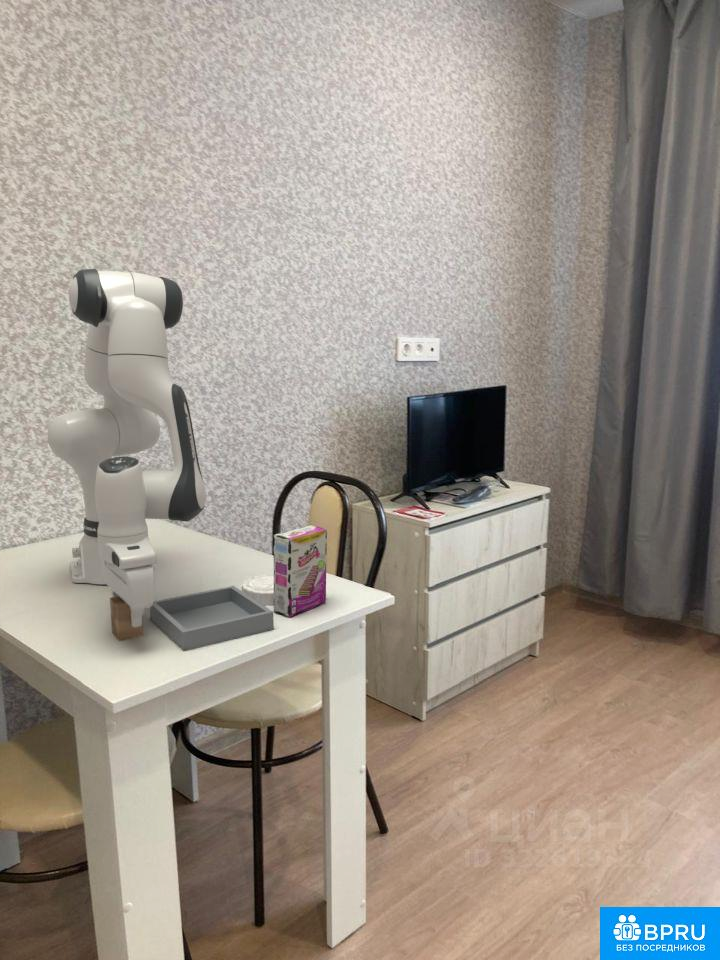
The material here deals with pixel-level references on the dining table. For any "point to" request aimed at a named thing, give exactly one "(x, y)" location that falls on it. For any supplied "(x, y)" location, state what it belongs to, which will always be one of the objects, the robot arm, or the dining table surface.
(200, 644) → the tray
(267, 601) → the mooncake
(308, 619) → the dining table surface
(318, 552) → the candy bar box
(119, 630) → the walnut block
